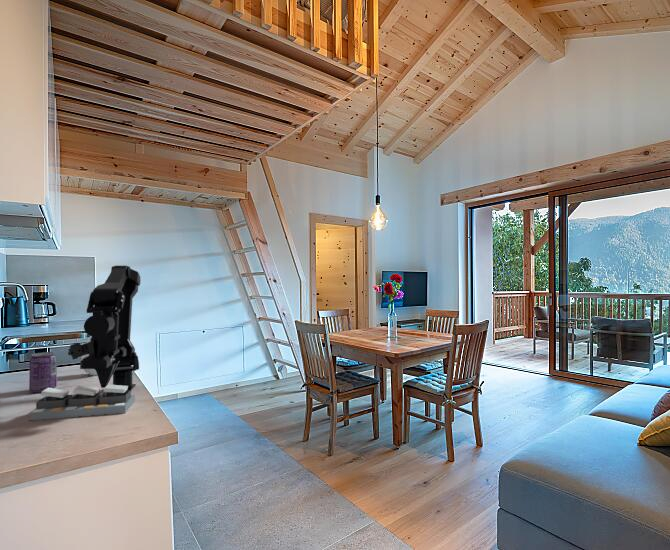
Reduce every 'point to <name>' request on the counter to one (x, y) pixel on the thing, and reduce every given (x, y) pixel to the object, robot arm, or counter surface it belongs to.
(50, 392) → the left rocker
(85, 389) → the middle rocker
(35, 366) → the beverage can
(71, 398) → the switch panel
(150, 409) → the counter surface
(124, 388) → the right rocker
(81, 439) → the counter surface
